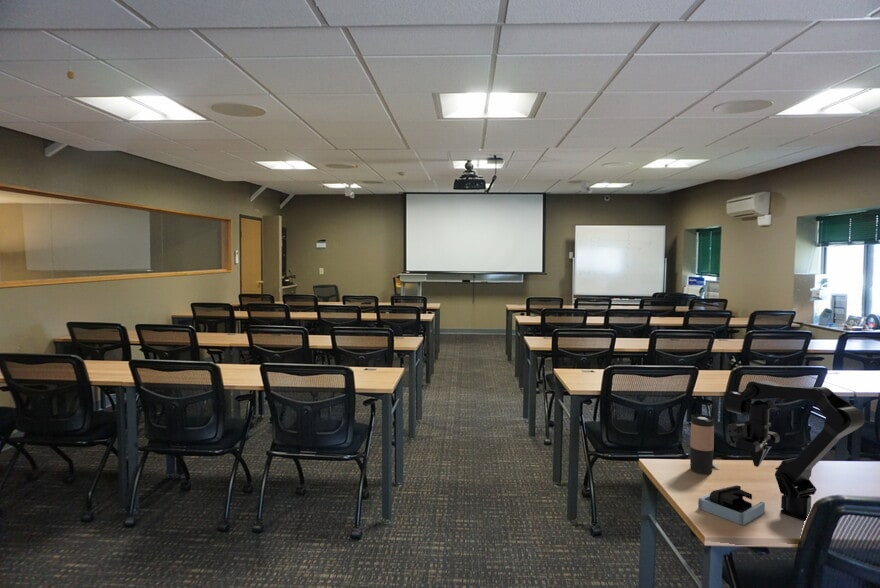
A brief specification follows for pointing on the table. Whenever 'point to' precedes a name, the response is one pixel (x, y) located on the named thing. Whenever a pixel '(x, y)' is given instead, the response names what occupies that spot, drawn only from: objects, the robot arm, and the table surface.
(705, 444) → the travel mug
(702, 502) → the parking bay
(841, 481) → the table surface
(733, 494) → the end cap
